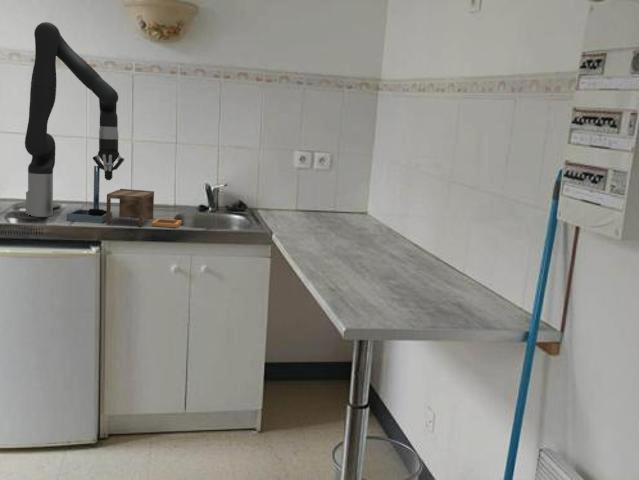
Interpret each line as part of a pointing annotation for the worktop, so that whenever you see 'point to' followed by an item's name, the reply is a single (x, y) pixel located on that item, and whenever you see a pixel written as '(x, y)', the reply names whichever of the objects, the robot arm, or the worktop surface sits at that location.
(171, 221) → the tray
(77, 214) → the stand with upright post
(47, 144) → the robot arm
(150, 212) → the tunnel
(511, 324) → the worktop surface
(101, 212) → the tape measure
